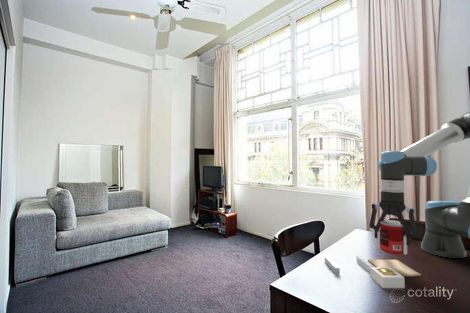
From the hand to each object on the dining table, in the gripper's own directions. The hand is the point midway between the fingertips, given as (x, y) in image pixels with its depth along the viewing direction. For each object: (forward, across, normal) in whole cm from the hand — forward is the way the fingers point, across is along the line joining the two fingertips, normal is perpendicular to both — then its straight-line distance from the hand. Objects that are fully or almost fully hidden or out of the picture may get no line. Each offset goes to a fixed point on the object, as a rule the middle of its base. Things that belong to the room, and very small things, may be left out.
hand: (392, 250), depth 88 cm
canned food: (0, 0, 0) cm, 0 cm away
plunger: (+6, +1, -13) cm, 15 cm away
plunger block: (+7, +1, -13) cm, 15 cm away
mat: (+7, 0, 0) cm, 7 cm away
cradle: (+7, -12, -12) cm, 18 cm away
